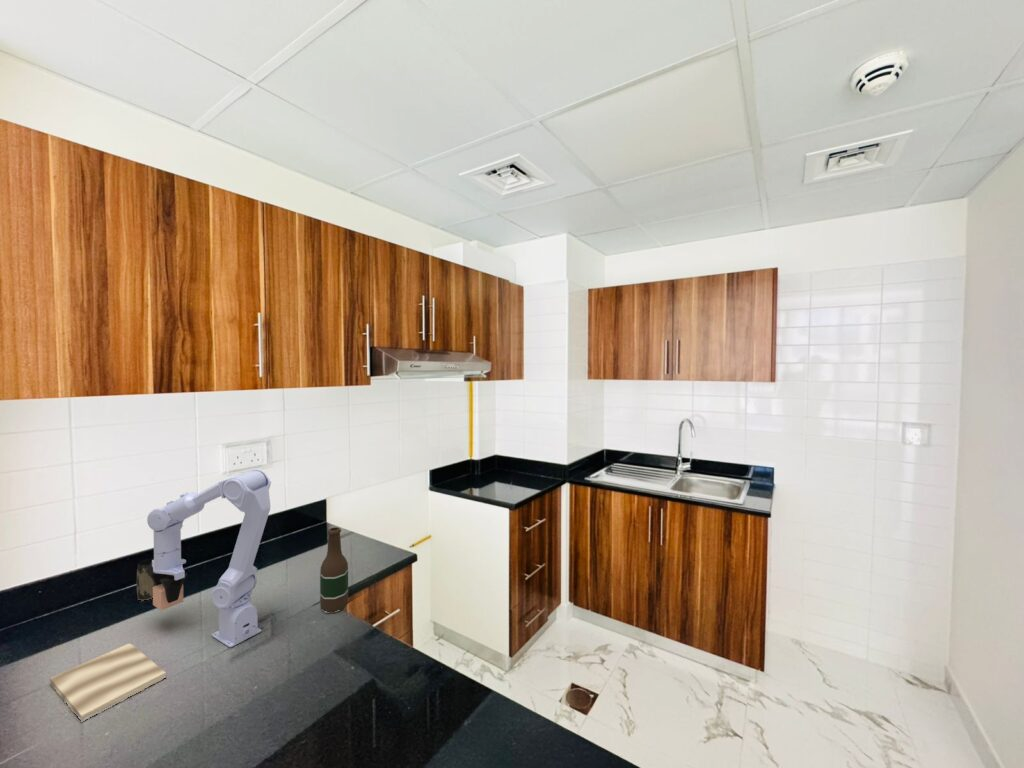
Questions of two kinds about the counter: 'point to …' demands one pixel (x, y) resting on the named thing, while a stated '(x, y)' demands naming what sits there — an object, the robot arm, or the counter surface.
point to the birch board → (106, 680)
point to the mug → (145, 580)
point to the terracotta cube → (164, 597)
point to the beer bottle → (334, 575)
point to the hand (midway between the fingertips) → (168, 598)
